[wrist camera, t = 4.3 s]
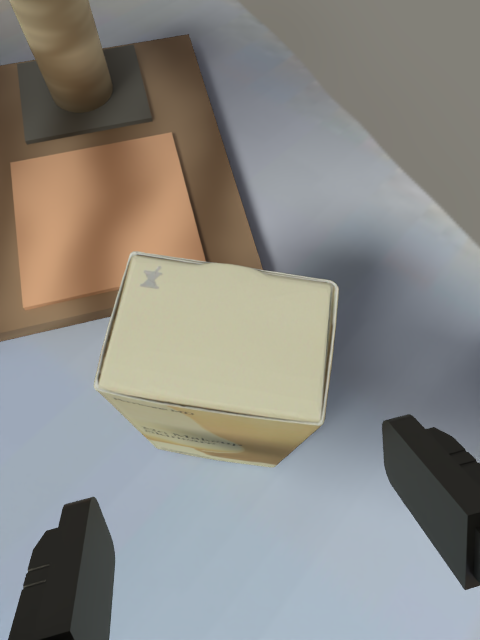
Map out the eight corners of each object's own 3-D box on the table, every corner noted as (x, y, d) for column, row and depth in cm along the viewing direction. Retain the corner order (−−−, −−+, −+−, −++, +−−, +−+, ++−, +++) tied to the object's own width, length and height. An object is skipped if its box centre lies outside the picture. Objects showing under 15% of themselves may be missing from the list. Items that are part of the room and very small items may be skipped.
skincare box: (153, 450, 23) (74, 391, 12) (172, 367, 25) (118, 244, 13) (282, 471, 23) (329, 431, 11) (292, 385, 24) (341, 275, 13)
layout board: (-22, 346, 25) (-158, 259, 16) (-34, 85, 32) (-132, -70, 24) (263, 281, 27) (276, 171, 18) (189, 47, 34) (174, -110, 25)
